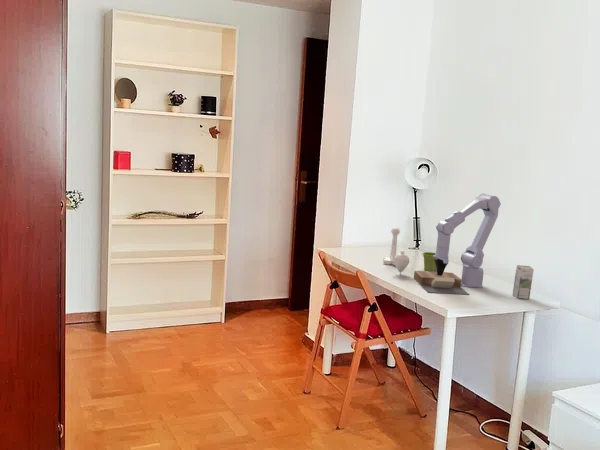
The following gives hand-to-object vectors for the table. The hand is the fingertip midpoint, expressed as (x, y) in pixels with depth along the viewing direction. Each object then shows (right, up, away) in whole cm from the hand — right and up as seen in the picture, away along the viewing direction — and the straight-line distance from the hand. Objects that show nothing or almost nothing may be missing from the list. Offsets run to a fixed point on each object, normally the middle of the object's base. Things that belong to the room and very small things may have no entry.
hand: (439, 275), depth 292 cm
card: (0, -2, -5) cm, 6 cm away
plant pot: (+2, 0, +32) cm, 32 cm away
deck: (0, -4, +5) cm, 7 cm away
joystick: (-18, +3, +40) cm, 44 cm away
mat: (+1, -6, -7) cm, 9 cm away
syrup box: (+35, -10, -10) cm, 37 cm away
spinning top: (-16, -1, +17) cm, 24 cm away
